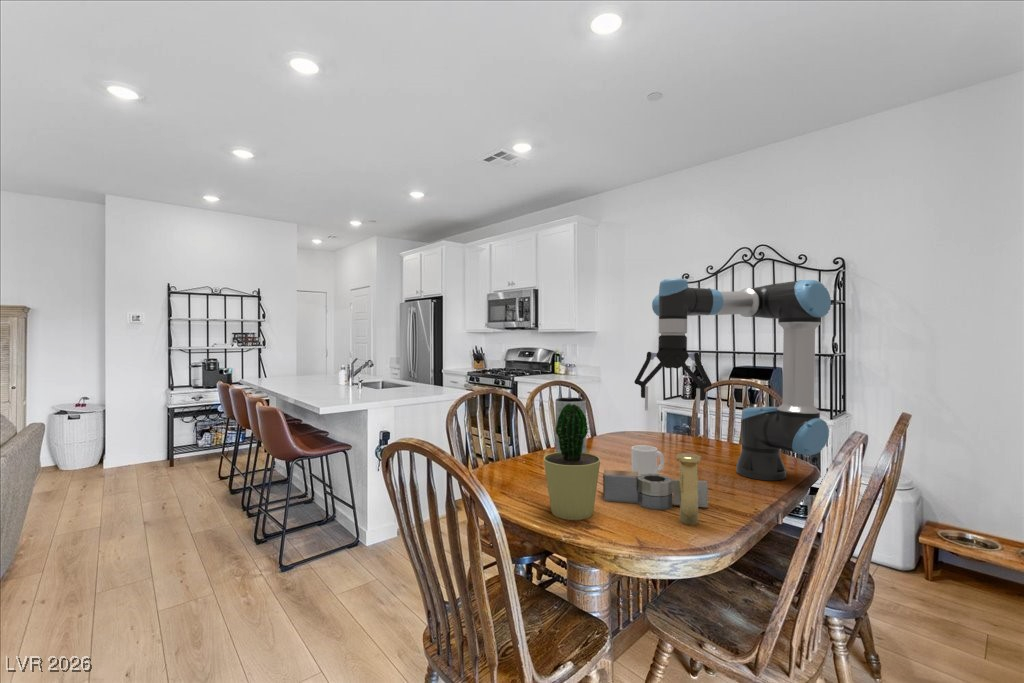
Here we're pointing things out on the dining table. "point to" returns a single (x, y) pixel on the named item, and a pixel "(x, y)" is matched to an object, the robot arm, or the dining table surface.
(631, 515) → the dining table surface
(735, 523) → the dining table surface
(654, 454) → the mug
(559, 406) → the vase
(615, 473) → the block
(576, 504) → the potted cactus
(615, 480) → the hinge base
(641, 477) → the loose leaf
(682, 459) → the hinge pin
